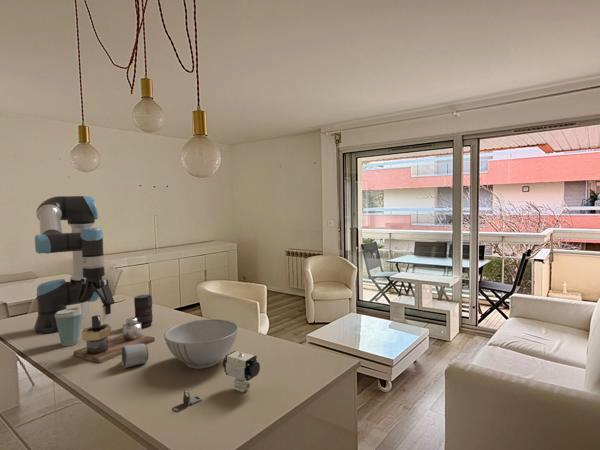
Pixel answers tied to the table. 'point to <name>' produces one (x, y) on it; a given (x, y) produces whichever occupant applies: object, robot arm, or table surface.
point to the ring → (96, 333)
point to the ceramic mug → (134, 355)
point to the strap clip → (187, 401)
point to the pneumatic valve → (241, 369)
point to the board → (112, 348)
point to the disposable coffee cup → (69, 325)
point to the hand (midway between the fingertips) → (96, 320)
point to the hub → (132, 329)
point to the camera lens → (143, 310)
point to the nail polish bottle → (97, 345)
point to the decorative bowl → (201, 341)
